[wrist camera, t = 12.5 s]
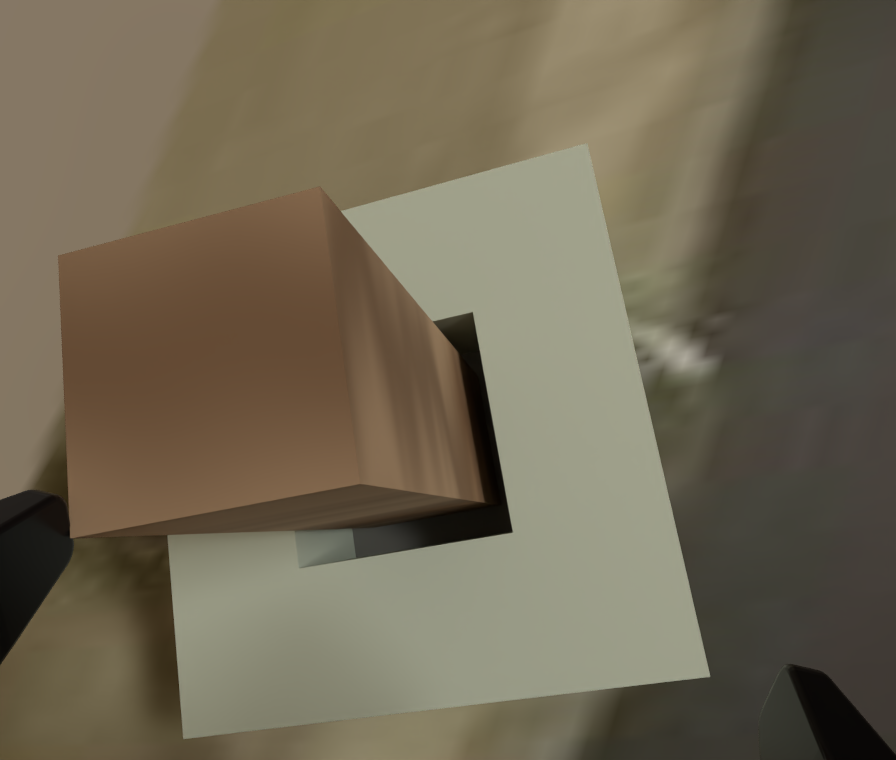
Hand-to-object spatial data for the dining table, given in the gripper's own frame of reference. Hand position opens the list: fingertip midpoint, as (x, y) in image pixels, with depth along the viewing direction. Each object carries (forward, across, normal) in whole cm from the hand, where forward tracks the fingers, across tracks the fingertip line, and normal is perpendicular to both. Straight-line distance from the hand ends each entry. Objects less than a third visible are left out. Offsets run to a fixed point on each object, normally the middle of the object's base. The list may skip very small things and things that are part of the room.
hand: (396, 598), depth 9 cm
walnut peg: (+12, +2, +6) cm, 13 cm away
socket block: (+13, +2, +6) cm, 14 cm away
